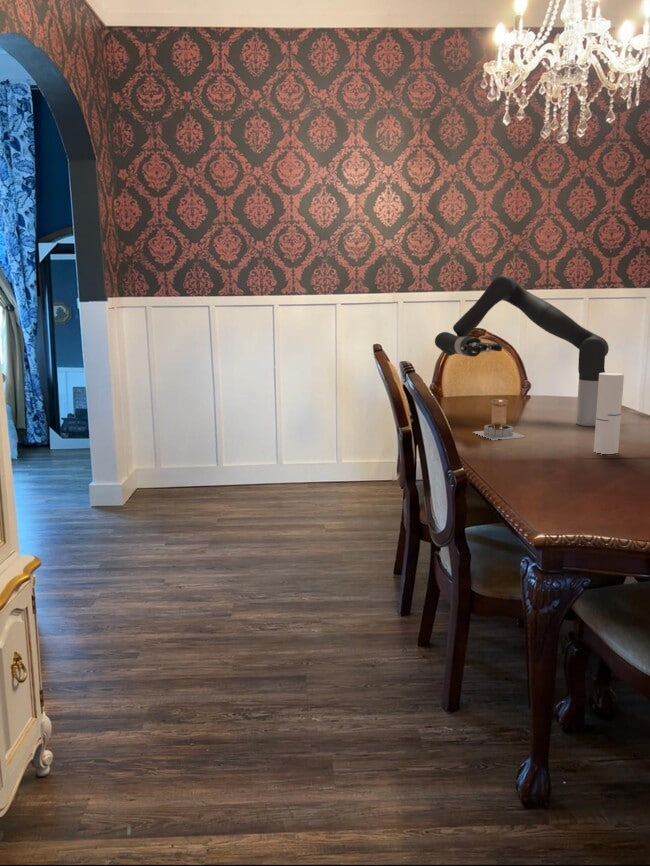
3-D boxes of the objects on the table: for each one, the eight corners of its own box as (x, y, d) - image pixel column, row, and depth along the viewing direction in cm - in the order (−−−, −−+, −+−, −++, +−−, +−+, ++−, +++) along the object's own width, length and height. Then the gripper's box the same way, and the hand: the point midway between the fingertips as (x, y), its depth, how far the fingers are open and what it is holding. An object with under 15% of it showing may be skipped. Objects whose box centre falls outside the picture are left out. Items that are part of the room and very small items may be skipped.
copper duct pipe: (500, 431, 251) (502, 398, 248) (509, 434, 245) (511, 401, 243) (486, 432, 249) (487, 399, 246) (495, 435, 244) (496, 402, 241)
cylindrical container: (620, 455, 216) (626, 375, 211) (595, 454, 217) (601, 375, 212) (615, 450, 223) (621, 372, 218) (591, 449, 224) (597, 372, 219)
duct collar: (503, 430, 255) (504, 422, 255) (524, 437, 243) (525, 429, 243) (472, 433, 251) (473, 425, 251) (492, 440, 239) (492, 431, 239)
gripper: (452, 337, 268) (474, 339, 253) (484, 335, 273) (507, 337, 258) (451, 356, 270) (473, 360, 255) (483, 354, 274) (507, 358, 259)
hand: (491, 348), depth 256 cm, fingers open, 8 cm apart
